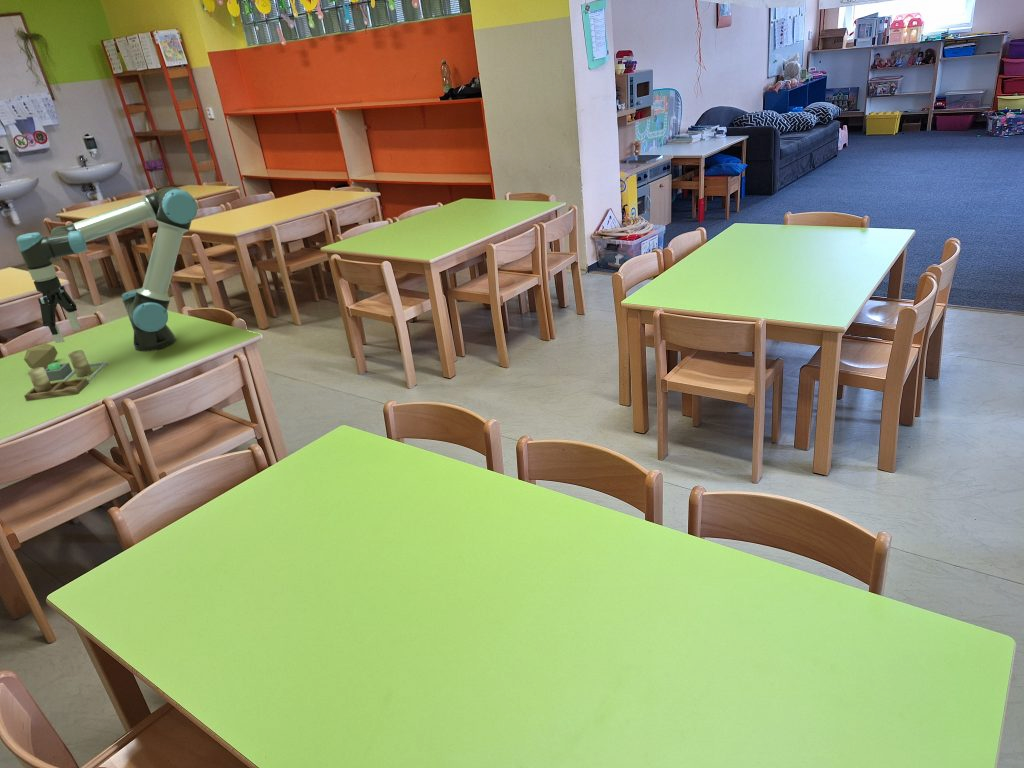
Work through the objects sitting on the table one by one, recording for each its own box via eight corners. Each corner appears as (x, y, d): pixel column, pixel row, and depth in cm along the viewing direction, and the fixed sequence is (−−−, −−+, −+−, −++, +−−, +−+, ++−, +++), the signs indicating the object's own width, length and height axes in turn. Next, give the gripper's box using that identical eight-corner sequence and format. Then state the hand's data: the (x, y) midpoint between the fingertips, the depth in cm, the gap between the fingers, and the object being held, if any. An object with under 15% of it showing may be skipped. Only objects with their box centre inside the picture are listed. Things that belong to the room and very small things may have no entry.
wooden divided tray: (89, 385, 257) (86, 377, 256) (78, 396, 249) (75, 388, 248) (40, 391, 256) (37, 384, 255) (27, 403, 248) (24, 395, 247)
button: (66, 374, 267) (60, 361, 265) (61, 379, 264) (55, 365, 262) (56, 376, 267) (50, 362, 265) (51, 380, 264) (45, 367, 262)
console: (73, 373, 269) (68, 362, 267) (64, 381, 263) (59, 370, 261) (54, 376, 269) (49, 365, 267) (45, 384, 263) (40, 373, 261)
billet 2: (94, 371, 267) (85, 349, 264) (88, 377, 263) (79, 354, 259) (81, 373, 267) (72, 351, 263) (75, 378, 263) (65, 356, 259)
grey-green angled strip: (108, 365, 273) (107, 361, 272) (90, 383, 258) (88, 379, 257) (81, 369, 273) (79, 365, 272) (60, 387, 258) (59, 383, 257)
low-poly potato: (43, 377, 270) (67, 354, 274) (17, 358, 265) (41, 335, 269) (42, 376, 282) (65, 355, 286) (17, 358, 277) (40, 336, 281)
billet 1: (56, 389, 254) (46, 366, 250) (49, 395, 250) (39, 372, 246) (42, 391, 254) (32, 368, 250) (35, 397, 250) (24, 374, 246)
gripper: (51, 269, 259) (73, 324, 269) (15, 290, 238) (41, 349, 247) (72, 266, 260) (93, 322, 269) (38, 287, 238) (63, 347, 247)
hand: (68, 335), depth 258 cm, fingers open, 12 cm apart
